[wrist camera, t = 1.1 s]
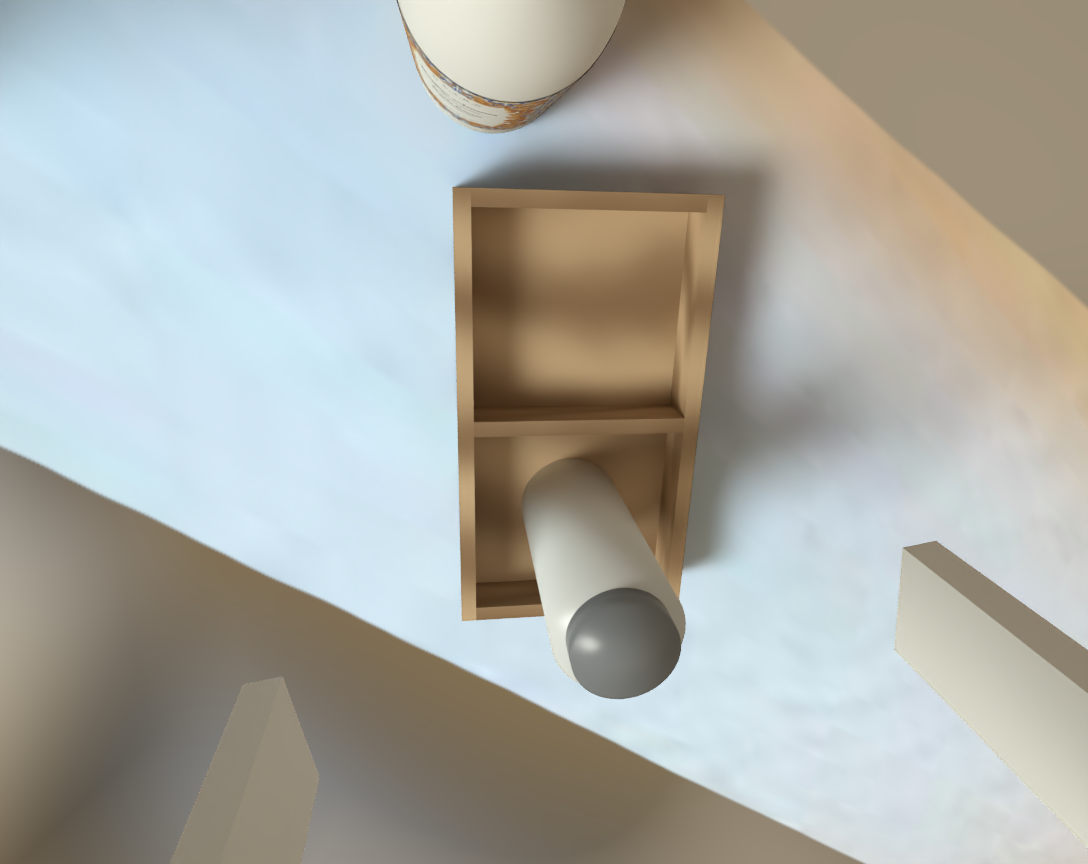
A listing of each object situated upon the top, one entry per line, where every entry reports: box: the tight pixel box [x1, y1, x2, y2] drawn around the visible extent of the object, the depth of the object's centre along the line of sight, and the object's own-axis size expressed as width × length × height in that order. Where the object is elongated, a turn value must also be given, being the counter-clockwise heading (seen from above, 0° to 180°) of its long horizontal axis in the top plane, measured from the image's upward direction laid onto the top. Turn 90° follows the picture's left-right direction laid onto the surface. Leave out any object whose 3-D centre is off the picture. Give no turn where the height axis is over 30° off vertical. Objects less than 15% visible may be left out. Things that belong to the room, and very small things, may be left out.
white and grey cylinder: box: [521, 458, 686, 699], centre depth 31 cm, size 6×6×13 cm
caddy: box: [453, 187, 725, 621], centre depth 35 cm, size 23×13×3 cm, turn 179°
